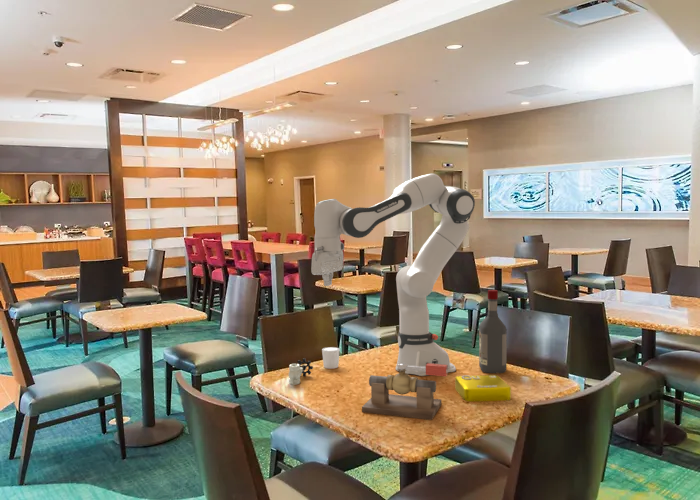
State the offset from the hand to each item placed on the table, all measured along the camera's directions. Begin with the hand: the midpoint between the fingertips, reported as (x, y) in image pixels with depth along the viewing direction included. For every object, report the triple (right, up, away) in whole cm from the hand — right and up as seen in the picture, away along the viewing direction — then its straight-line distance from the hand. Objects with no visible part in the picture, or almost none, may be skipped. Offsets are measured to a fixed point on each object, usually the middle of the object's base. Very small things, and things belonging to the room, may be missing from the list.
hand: (327, 285), depth 193 cm
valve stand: (+24, -35, -26) cm, 50 cm away
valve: (-11, -34, +5) cm, 36 cm away
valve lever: (+29, -24, -29) cm, 47 cm away
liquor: (+61, -33, +14) cm, 71 cm away
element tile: (+51, -35, -13) cm, 63 cm away
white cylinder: (0, -33, +22) cm, 40 cm away
